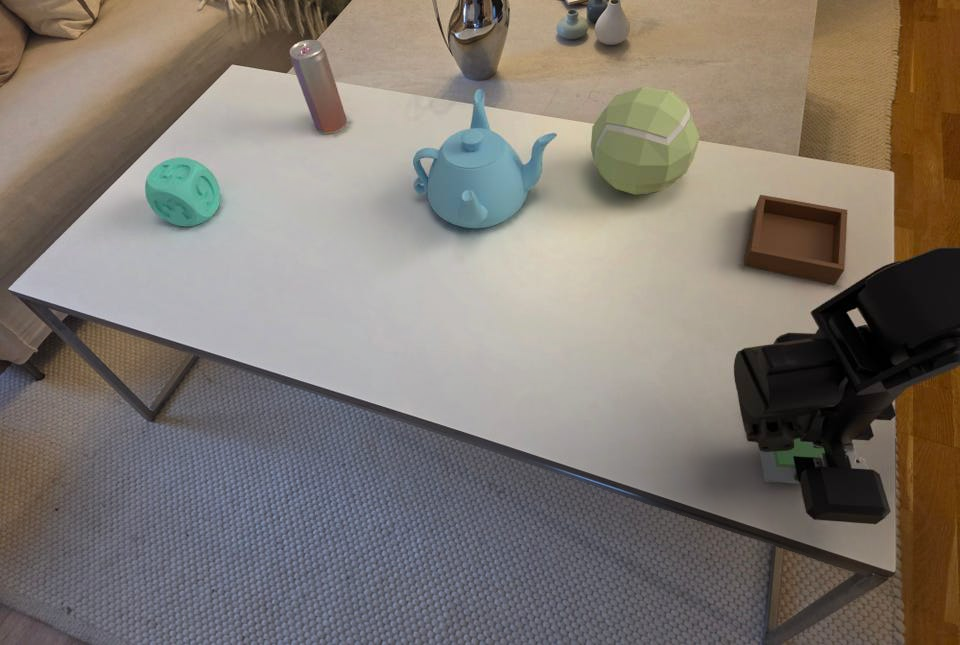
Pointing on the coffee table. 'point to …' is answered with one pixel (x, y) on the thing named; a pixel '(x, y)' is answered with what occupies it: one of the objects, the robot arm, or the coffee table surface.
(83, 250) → the coffee table surface
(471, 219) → the teapot
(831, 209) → the tray
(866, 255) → the coffee table surface
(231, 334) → the coffee table surface
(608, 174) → the tennis ball
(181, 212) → the decorative dice
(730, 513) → the coffee table surface
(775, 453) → the container
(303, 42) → the beverage can
